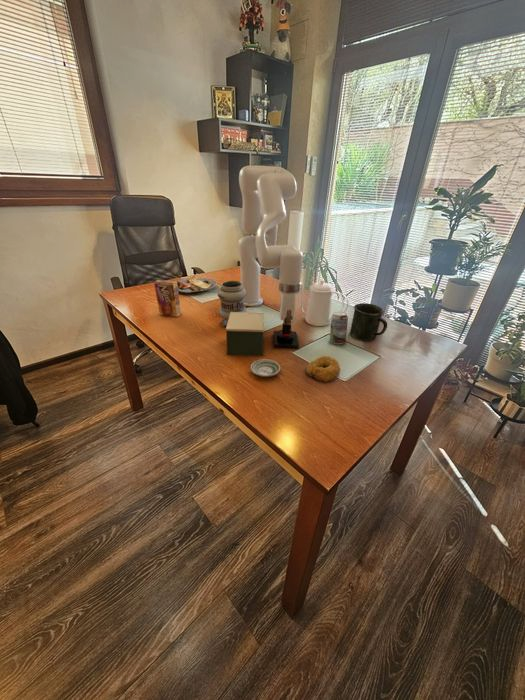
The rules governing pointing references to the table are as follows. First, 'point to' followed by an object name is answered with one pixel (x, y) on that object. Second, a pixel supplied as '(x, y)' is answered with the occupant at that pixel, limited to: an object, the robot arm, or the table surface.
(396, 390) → the table surface
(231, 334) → the box
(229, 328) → the lid
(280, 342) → the switch block
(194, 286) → the food plate
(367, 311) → the mug
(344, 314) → the beverage can
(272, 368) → the saucer
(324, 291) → the coffeepot
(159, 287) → the candy box
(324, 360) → the bagel
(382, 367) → the table surface
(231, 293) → the apothecary jar
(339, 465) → the table surface
